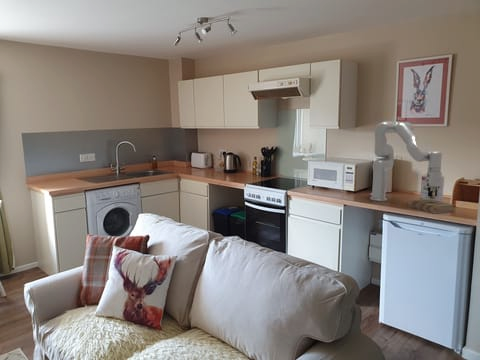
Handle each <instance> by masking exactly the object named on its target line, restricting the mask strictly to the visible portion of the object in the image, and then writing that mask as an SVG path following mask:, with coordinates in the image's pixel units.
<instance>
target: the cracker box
mask: <svg viewBox="0 0 480 360" xmlns="http://www.w3.org/2000/svg"><path fill="white" fill-rule="evenodd" d="M426 176H427V173H426V174H422V175H421V182H420V194H419V200H420V199H430V196H428V190H427V188H425V185H426ZM444 183H445V176H443V175H442V185H441V187H439V189H438V191H437V196H435V199H433V200H437V201H441V202H443V198H444V197H443V194H444V186H445V184H444Z"/></svg>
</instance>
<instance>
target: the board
mask: <svg viewBox="0 0 480 360" xmlns="http://www.w3.org/2000/svg"><path fill="white" fill-rule="evenodd" d="M410 208H412V209H416V210H419V211H423V212H426V213H431V214H433V215H436V214H445V213H444V212H446V213H453V212H454V204H452V203H449V202H444V201H442V202H441V201H437V200H433V199H420V198H419V199H413V200H411V201H410Z"/></svg>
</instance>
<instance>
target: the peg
mask: <svg viewBox="0 0 480 360" xmlns="http://www.w3.org/2000/svg"><path fill="white" fill-rule="evenodd" d="M435 190H436V187H432V191H433V193H432V197H430V199H435Z"/></svg>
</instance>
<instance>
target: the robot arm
mask: <svg viewBox="0 0 480 360" xmlns="http://www.w3.org/2000/svg"><path fill="white" fill-rule="evenodd" d="M413 131H414V125H413V124H412V123H411V122H409V121H406V122H405V121H382V122H380V123H378V124H376V126H375V128H374V155H375V156H376V157H377V159H375V160H374V161H373V162H372V172H373V173H372V175H373V177H372V192H371V193H369V195H370V197H369V200H372V201H376V202H377V201H378V202H385V201H388V197H386V192H387V190H386V189H387V173H386V171H390V170H392V168H393V167H394V162H395V161H394V160H395V159H394V158H395V154H394V153H395V152H394V151H395V150H394V147H393V146H392V145H391V144H389V143H387V142H388V140H387V135H386V134H393V133H394V134H397V135H398V136H399V137H400V139H401V140H402V141H403V143H404V144H405V145H406V150H407V152H408V154H409V155H410V156H411V157H412V159H413V160H415V161H416V162H419V163H420V162H421V163H422V162H428V166H427V172H426V174H427V176H426V185H425V188H427V190H428V196H430V197H432V193H433V191H432V187H436V190H435V196H437V191H438V189H439V187H441V185H442V176H443V175H442V171H441V168H442V158H443V156H442V155H443V153H442V152H441V151H436V150H435V151H434V150H428V149H427V150H426V149H424V150H421V149H420V148H419V146H418V145H417V143H416V141H417V139H418V136H417V135H416V133H414V132H413Z"/></svg>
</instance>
